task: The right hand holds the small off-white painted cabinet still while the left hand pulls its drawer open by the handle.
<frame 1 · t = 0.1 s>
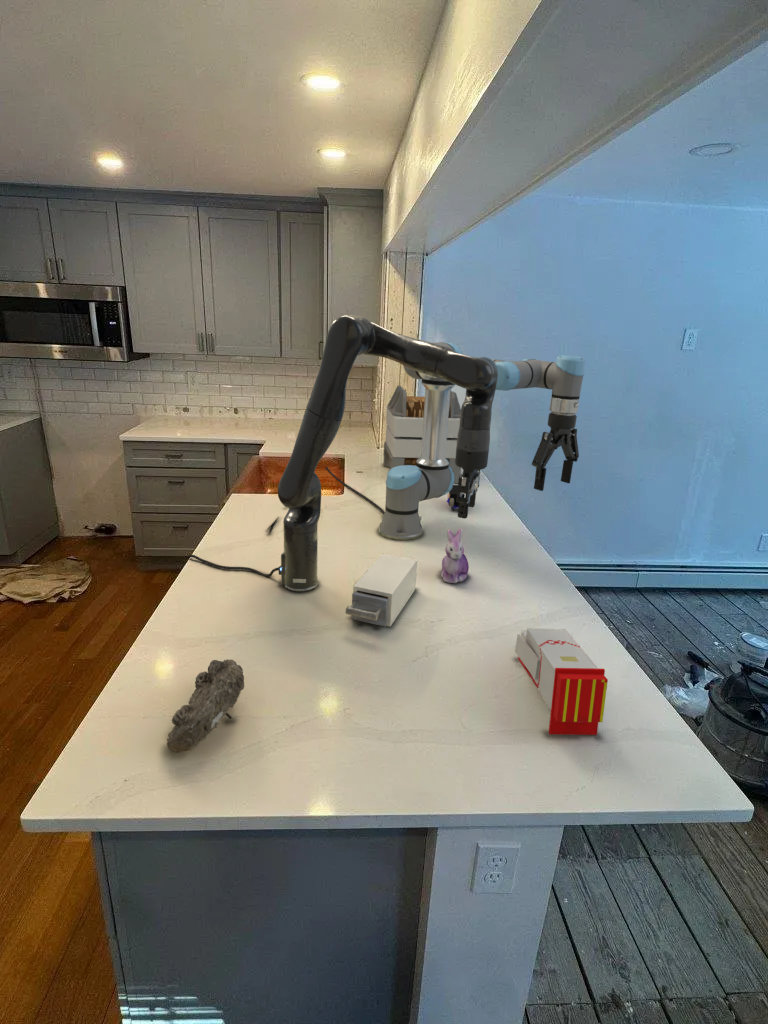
left hand: (466, 512, 137), 29 cm above the counter, tool pointing down, fingers open, 8 cm apart
right hand: (552, 485, 166), 28 cm above the counter, tool pointing down, fingers open, 13 cm apart
drawer: (379, 596, 146), point 5 cm above the counter, slide at 0.9 cm
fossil: (212, 717, 108), on the counter
cabinet: (385, 602, 153), on the counter
feather: (277, 521, 207), on the counter
transformer: (419, 473, 275), on the counter
figurine character: (454, 506, 230), on the counter
figurine: (454, 577, 169), on the counter
toy: (550, 690, 120), on the counter
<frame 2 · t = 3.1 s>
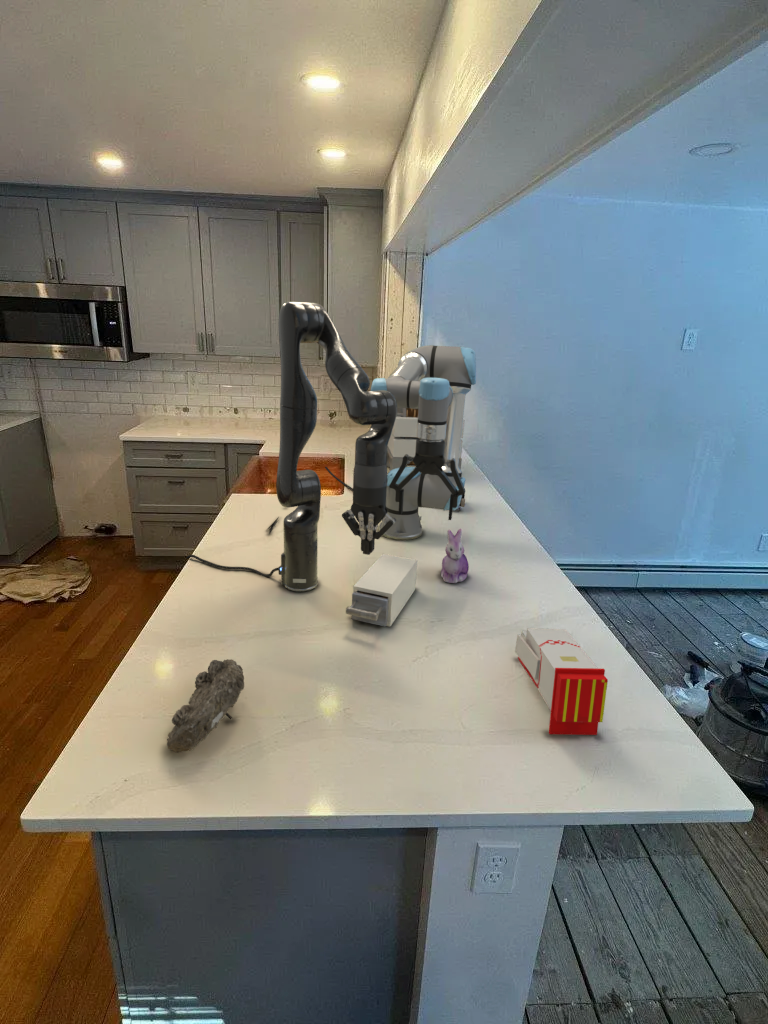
left hand: (367, 553, 132), 21 cm above the counter, tool pointing down, fingers closed
right hand: (425, 516, 154), 22 cm above the counter, tool pointing down, fingers open, 13 cm apart
nothing on the counter moved.
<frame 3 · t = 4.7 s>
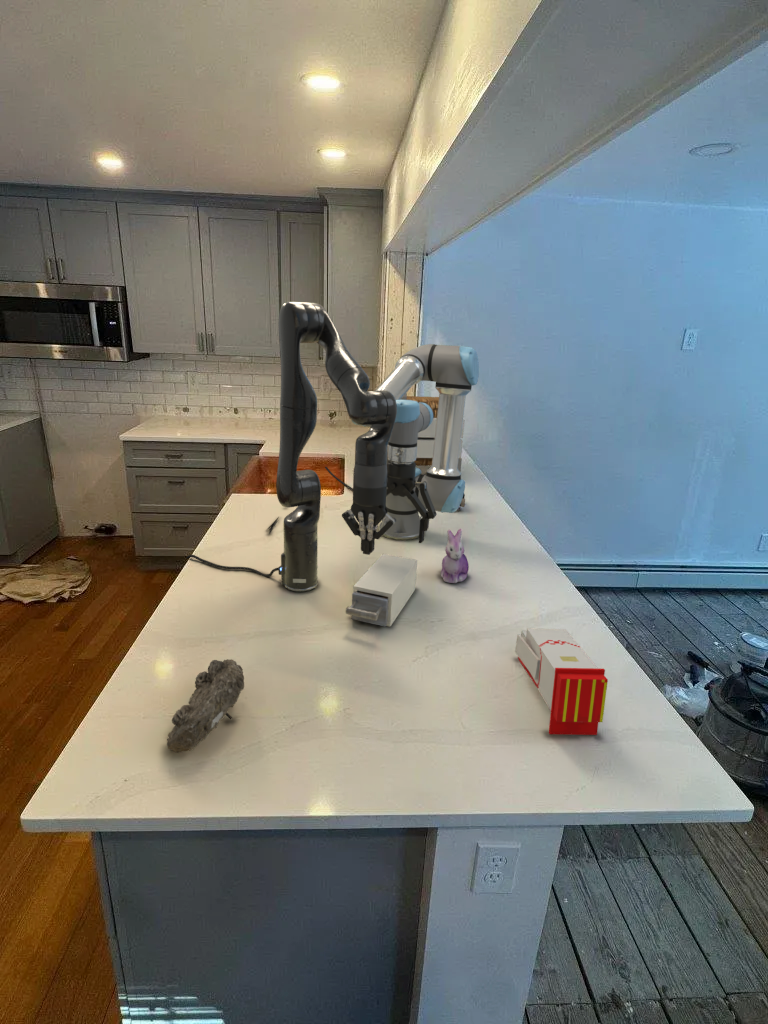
left hand: (367, 553, 132), 21 cm above the counter, tool pointing down, fingers closed
right hand: (397, 537, 154), 16 cm above the counter, tool pointing down, fingers open, 13 cm apart
nothing on the counter moved.
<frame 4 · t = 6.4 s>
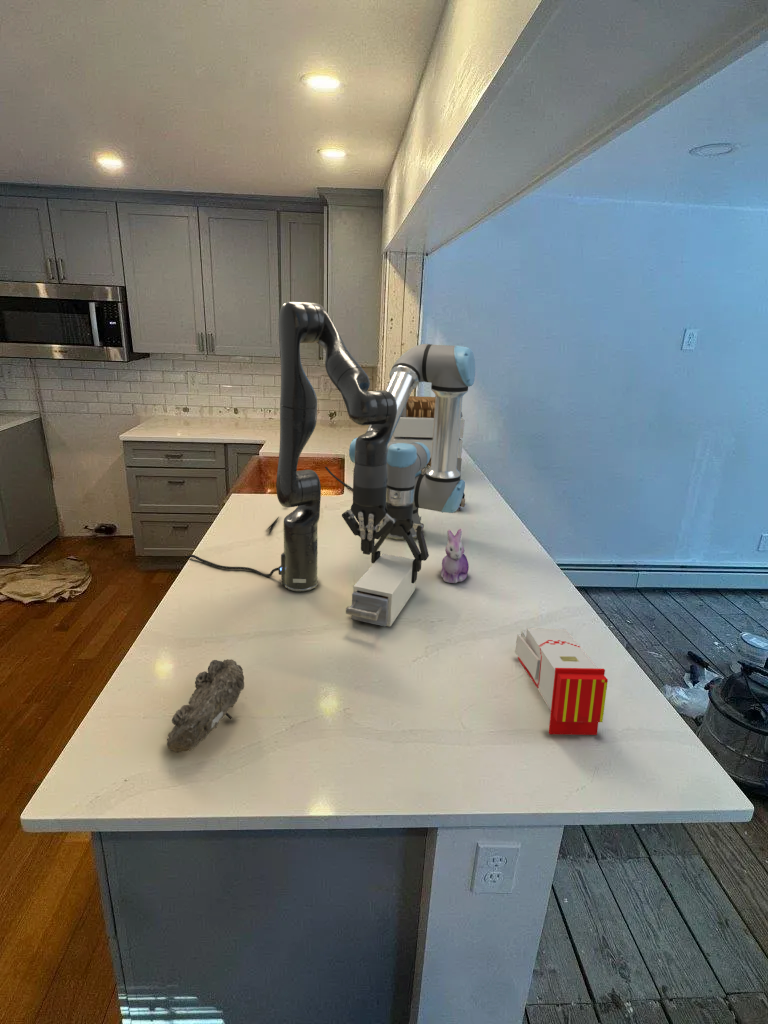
left hand: (367, 553, 132), 21 cm above the counter, tool pointing down, fingers closed
right hand: (395, 577, 158), 4 cm above the counter, tool pointing down, fingers closed on cabinet, 10 cm apart
cabinet: (385, 602, 153), on the counter, touching right hand
everything else where it was.
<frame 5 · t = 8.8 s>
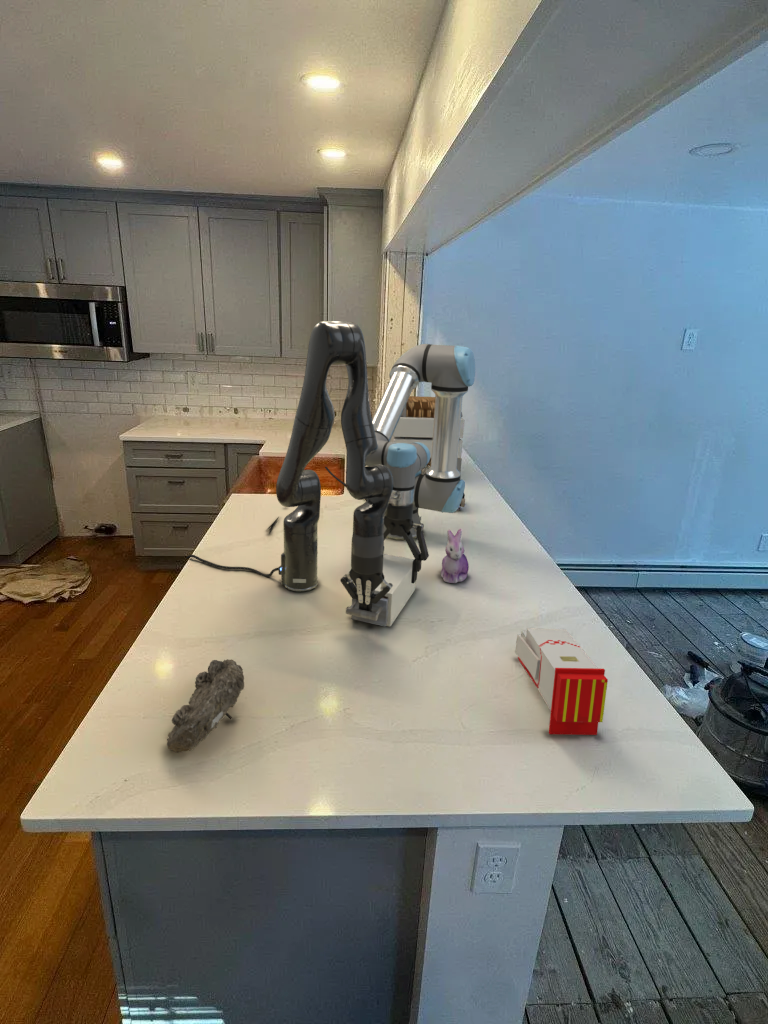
left hand: (365, 615, 137), 5 cm above the counter, tool pointing down, fingers closed
right hand: (395, 577, 158), 4 cm above the counter, tool pointing down, fingers closed on cabinet, 10 cm apart
drawer: (379, 596, 146), point 5 cm above the counter, slide at 0.9 cm, touching left hand
cabinet: (385, 602, 153), on the counter, touching right hand
everything else where it was.
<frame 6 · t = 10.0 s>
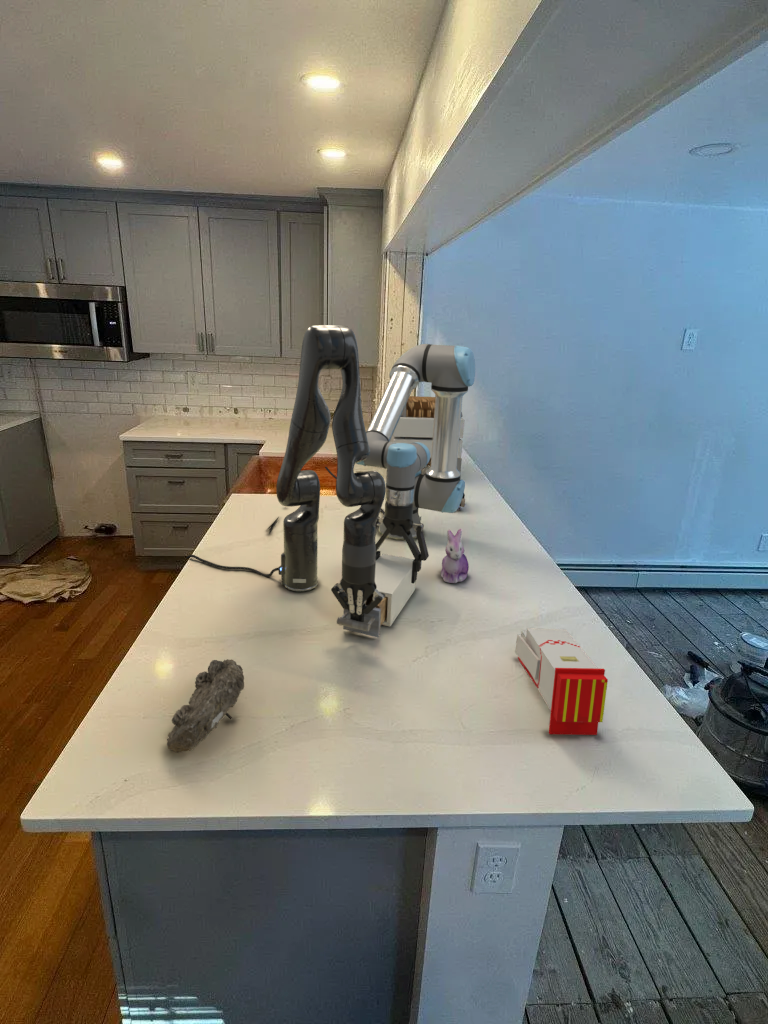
left hand: (357, 625, 132), 5 cm above the counter, tool pointing down, fingers closed
right hand: (395, 577, 158), 4 cm above the counter, tool pointing down, fingers closed on cabinet, 10 cm apart
drawer: (372, 605, 142), point 5 cm above the counter, slide at 6.0 cm, touching left hand
cabinet: (385, 602, 153), on the counter, touching right hand
everything else where it was.
when the right hand's fingers open (4 cm above the counter, at t = 11.5 s): cabinet stays where it is, on the counter.
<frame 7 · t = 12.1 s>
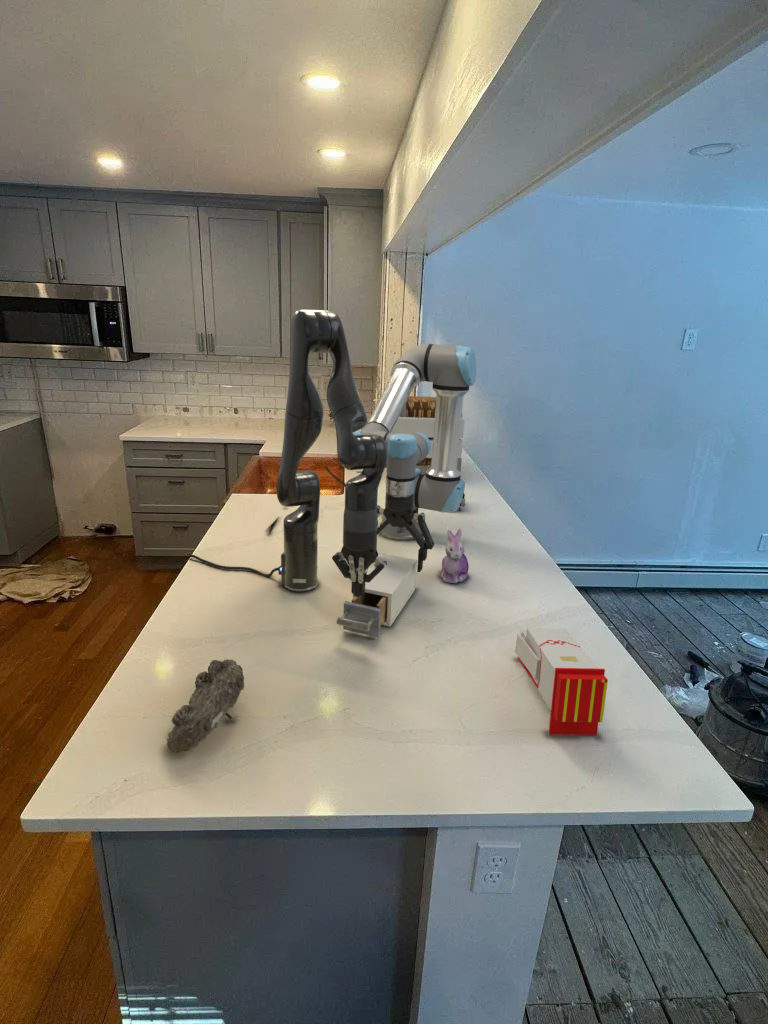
left hand: (358, 595, 130), 12 cm above the counter, tool pointing down, fingers closed
right hand: (396, 565, 157), 8 cm above the counter, tool pointing down, fingers open, 13 cm apart
drawer: (371, 606, 142), point 5 cm above the counter, slide at 6.0 cm
cabinet: (385, 602, 153), on the counter
everything else where it was.
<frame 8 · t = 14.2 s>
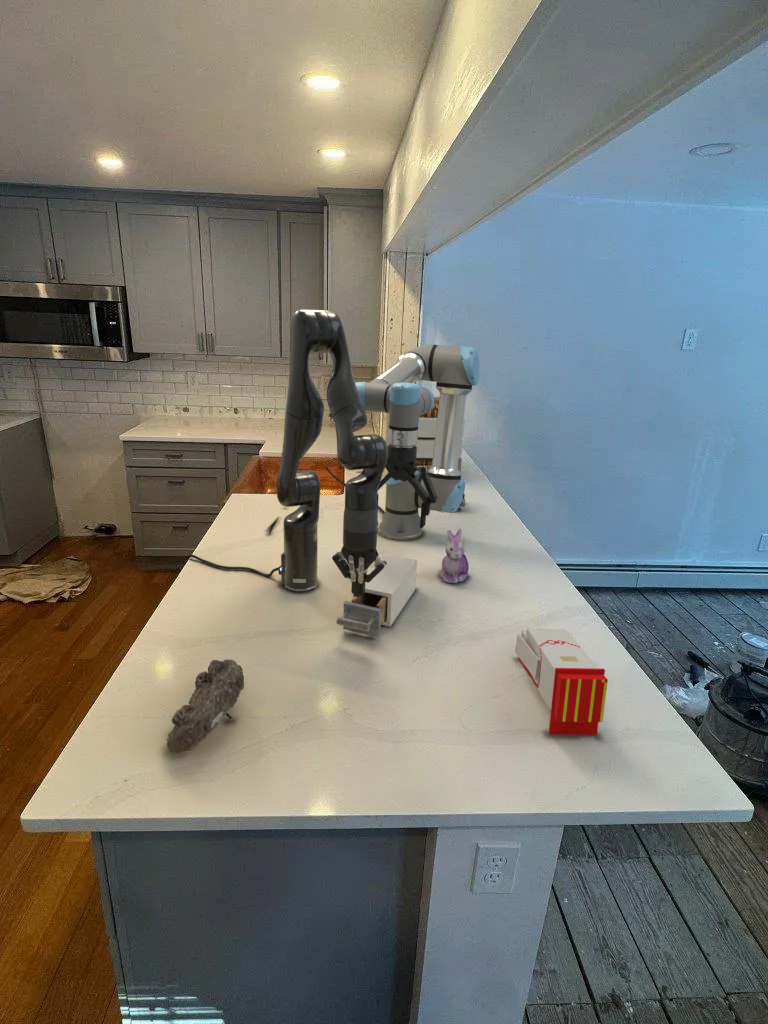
left hand: (358, 595, 130), 12 cm above the counter, tool pointing down, fingers closed
right hand: (398, 522, 152), 21 cm above the counter, tool pointing down, fingers open, 13 cm apart
nothing on the counter moved.
at the end: drawer slide at 6.0 cm; cabinet tilted 0°; cabinet never tilted more than 1° during the clip; cabinet moved 0.0 cm from its start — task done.
